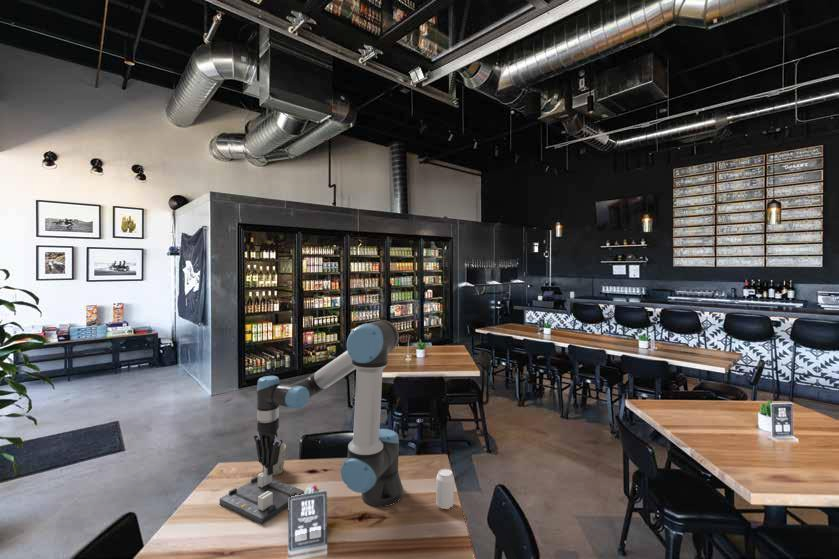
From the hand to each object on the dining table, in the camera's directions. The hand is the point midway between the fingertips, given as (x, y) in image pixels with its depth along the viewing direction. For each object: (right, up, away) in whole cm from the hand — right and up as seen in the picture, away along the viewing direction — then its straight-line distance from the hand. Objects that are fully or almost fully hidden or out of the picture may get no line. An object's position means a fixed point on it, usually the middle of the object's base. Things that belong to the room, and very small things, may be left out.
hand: (267, 482), depth 139 cm
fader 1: (-2, -1, +1) cm, 2 cm away
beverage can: (+65, -4, -8) cm, 66 cm away
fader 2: (+4, -1, -13) cm, 13 cm away
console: (0, -4, -5) cm, 6 cm away
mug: (-5, -3, +15) cm, 16 cm away
